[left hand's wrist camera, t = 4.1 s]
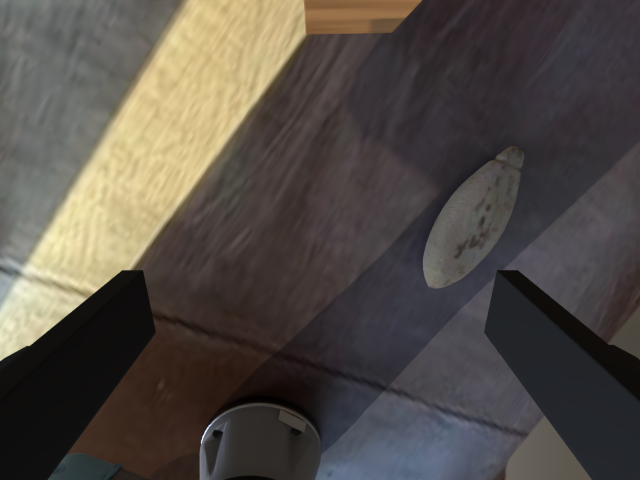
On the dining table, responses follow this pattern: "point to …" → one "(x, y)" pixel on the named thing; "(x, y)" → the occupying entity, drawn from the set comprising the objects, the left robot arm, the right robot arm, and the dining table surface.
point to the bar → (356, 15)
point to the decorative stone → (473, 220)
